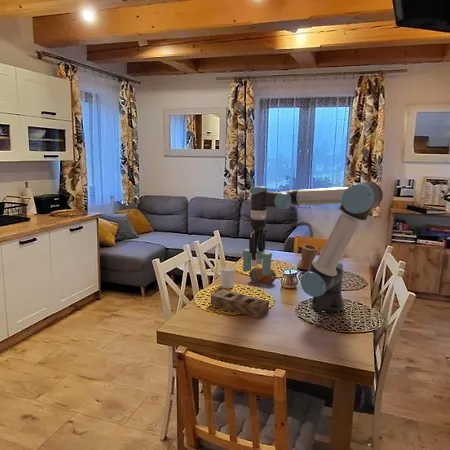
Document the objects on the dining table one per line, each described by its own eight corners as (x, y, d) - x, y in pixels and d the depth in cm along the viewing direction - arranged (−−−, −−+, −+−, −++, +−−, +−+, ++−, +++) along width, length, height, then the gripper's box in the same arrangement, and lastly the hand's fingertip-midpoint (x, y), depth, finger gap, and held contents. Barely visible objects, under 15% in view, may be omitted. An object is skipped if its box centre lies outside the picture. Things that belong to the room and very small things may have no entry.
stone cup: (314, 272, 250) (316, 248, 248) (295, 270, 254) (296, 246, 251) (317, 265, 265) (318, 243, 262) (298, 263, 268) (300, 241, 265)
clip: (271, 273, 198) (271, 253, 196) (267, 275, 195) (267, 254, 193) (246, 268, 206) (247, 248, 204) (242, 270, 203) (242, 250, 201)
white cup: (232, 289, 216) (233, 271, 215) (218, 288, 218) (218, 270, 216) (235, 284, 224) (235, 267, 222) (221, 283, 226) (221, 266, 224)
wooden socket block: (268, 311, 188) (269, 301, 187) (257, 318, 180) (258, 307, 179) (222, 298, 202) (222, 289, 201) (210, 304, 194) (210, 295, 193)
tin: (249, 281, 230) (249, 267, 229) (250, 279, 233) (251, 265, 232) (274, 285, 225) (275, 270, 223) (276, 283, 228) (276, 269, 226)
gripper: (260, 215, 204) (258, 260, 209) (242, 219, 191) (241, 267, 195) (273, 217, 200) (271, 262, 205) (256, 221, 186) (254, 270, 191)
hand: (256, 265), depth 200 cm, fingers closed on clip, 4 cm apart
